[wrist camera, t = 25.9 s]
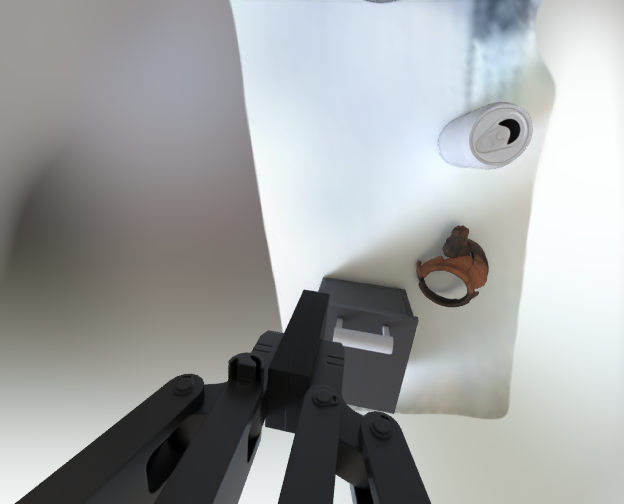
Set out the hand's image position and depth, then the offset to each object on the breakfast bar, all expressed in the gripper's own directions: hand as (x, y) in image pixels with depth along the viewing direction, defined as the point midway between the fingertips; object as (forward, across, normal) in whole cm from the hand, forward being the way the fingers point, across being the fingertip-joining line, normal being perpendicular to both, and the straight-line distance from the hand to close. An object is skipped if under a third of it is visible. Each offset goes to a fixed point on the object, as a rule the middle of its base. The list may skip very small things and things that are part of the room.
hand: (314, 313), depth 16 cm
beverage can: (+31, +14, +12) cm, 36 cm away
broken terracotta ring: (+31, +17, -4) cm, 35 cm away
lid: (+21, +5, -18) cm, 28 cm away
